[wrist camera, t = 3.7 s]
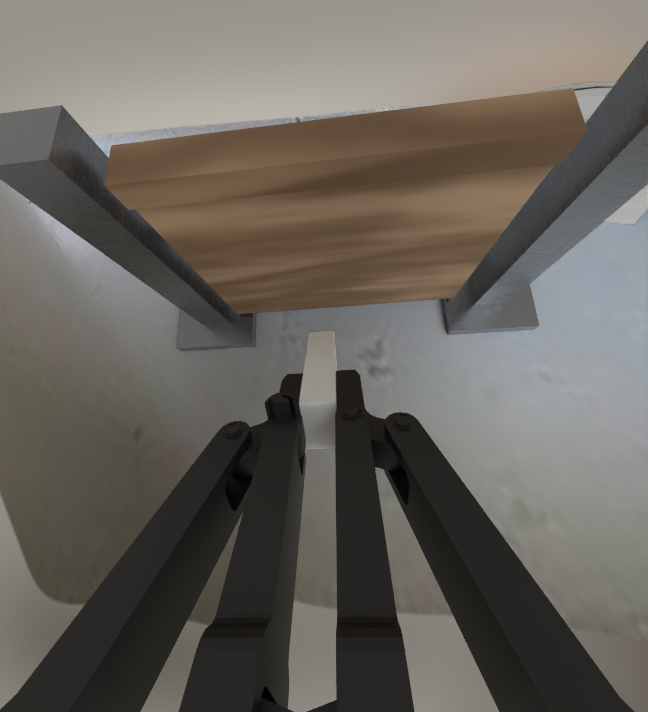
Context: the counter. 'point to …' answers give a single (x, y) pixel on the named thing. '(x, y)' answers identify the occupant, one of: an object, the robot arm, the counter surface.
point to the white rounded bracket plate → (588, 103)
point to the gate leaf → (348, 198)
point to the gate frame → (230, 330)
